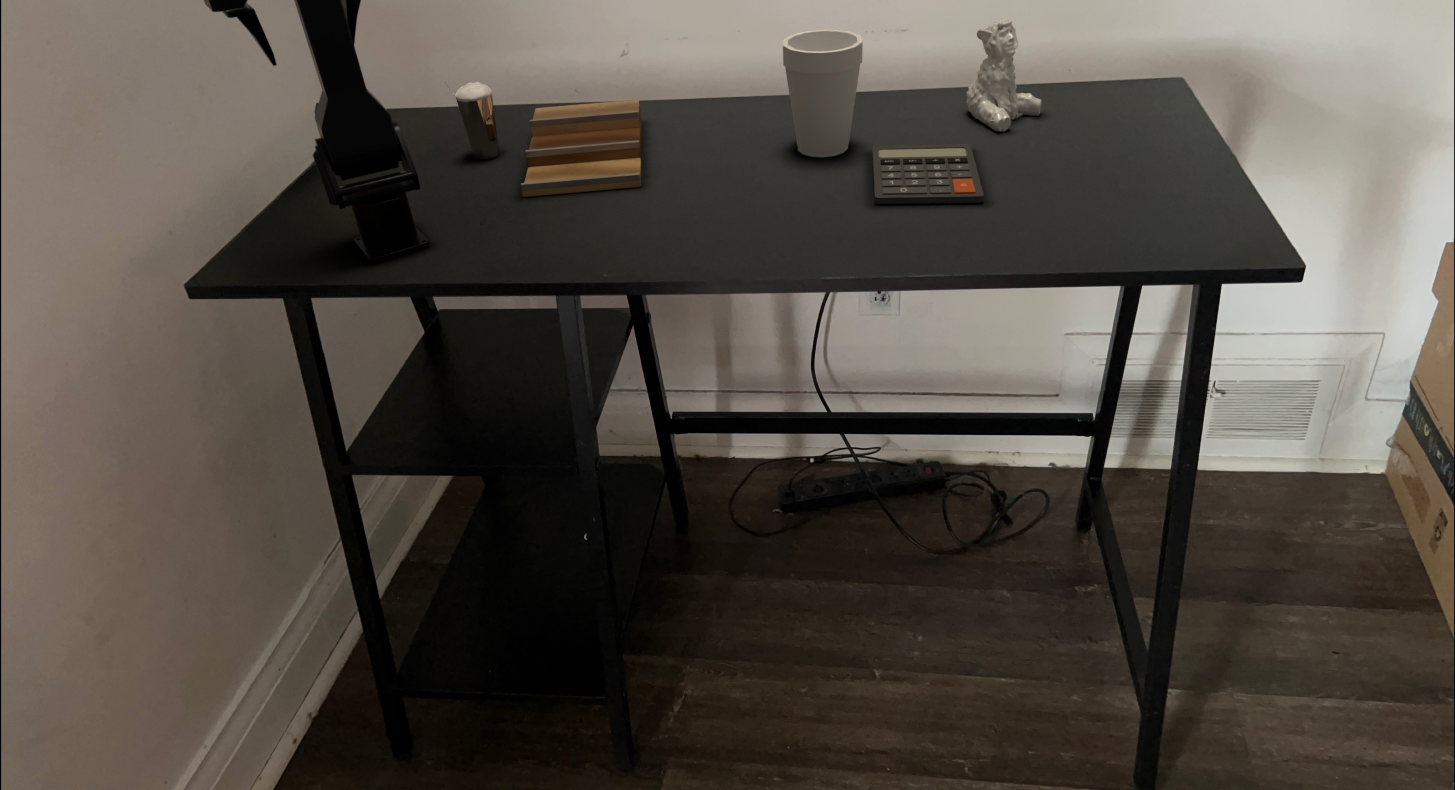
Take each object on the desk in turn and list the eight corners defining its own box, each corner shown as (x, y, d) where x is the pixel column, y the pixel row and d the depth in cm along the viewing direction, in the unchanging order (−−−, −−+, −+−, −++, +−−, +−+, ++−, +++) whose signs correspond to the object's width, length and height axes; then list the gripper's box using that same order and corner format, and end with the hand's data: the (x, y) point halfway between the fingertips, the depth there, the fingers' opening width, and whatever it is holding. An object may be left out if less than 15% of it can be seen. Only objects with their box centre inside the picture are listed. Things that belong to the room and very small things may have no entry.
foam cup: (874, 152, 117) (877, 44, 109) (805, 167, 114) (804, 58, 107) (838, 128, 124) (839, 25, 117) (773, 142, 122) (769, 38, 114)
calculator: (875, 196, 104) (872, 144, 116) (874, 204, 105) (872, 151, 117) (984, 194, 103) (970, 142, 115) (983, 202, 103) (969, 149, 115)
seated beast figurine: (1001, 135, 119) (1012, 36, 112) (945, 119, 124) (952, 24, 117) (1044, 114, 124) (1057, 18, 117) (989, 100, 129) (998, 7, 122)
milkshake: (461, 152, 125) (443, 76, 120) (502, 146, 127) (486, 70, 121) (464, 165, 122) (446, 87, 116) (506, 157, 123) (490, 80, 117)
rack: (641, 187, 113) (637, 154, 110) (522, 197, 113) (516, 165, 110) (641, 122, 131) (638, 93, 128) (539, 131, 130) (534, 102, 128)
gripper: (334, -104, 116) (370, 29, 125) (169, -80, 108) (220, 60, 117) (360, -96, 108) (396, 45, 117) (184, -69, 100) (237, 80, 109)
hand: (313, 56), depth 115 cm, fingers open, 9 cm apart
